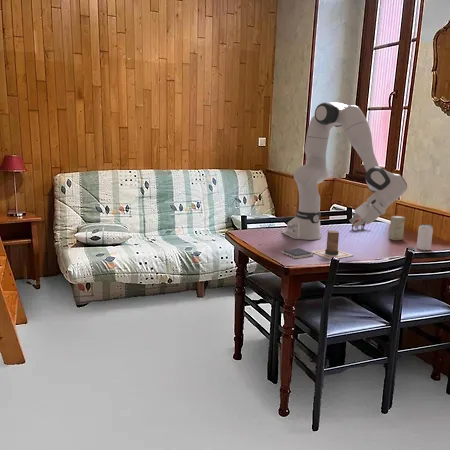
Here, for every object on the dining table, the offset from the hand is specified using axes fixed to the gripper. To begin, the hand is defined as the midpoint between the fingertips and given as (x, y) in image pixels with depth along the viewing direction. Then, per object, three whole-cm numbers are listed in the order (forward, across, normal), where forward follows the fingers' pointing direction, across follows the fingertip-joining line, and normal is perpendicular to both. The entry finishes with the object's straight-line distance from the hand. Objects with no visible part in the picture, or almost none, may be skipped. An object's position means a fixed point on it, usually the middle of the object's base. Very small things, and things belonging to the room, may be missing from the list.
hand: (352, 224), depth 216 cm
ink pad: (+28, +3, -7) cm, 29 cm away
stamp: (+16, 0, +4) cm, 17 cm away
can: (-17, -16, +38) cm, 45 cm away
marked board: (+16, 0, +4) cm, 17 cm away
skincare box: (-11, -35, +32) cm, 49 cm away
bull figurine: (-1, -55, +22) cm, 60 cm away
